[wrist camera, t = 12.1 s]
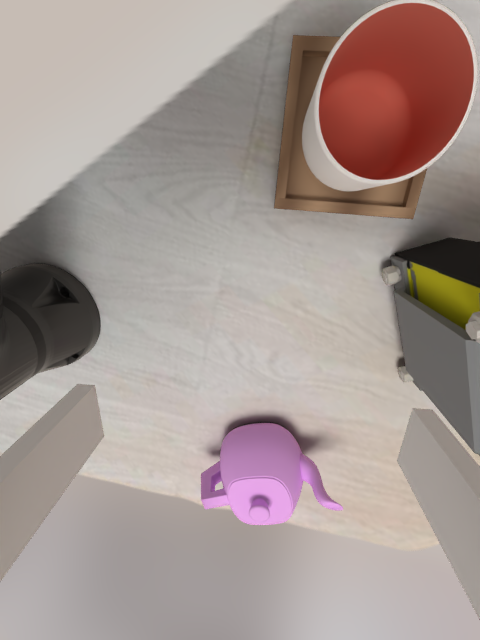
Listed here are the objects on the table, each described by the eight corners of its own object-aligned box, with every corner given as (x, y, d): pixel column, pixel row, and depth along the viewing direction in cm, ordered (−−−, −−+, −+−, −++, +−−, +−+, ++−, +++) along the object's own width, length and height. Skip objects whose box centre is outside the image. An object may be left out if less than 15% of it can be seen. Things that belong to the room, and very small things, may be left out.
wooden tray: (274, 208, 34) (274, 207, 30) (290, 60, 29) (293, 35, 25) (395, 217, 33) (413, 218, 29) (434, 66, 28) (462, 41, 24)
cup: (376, 205, 30) (422, 204, 21) (285, 173, 30) (291, 157, 20) (429, 93, 26) (516, 29, 17) (326, 55, 26) (356, -31, 17)
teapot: (332, 474, 48) (348, 547, 38) (217, 482, 51) (204, 550, 41) (323, 409, 44) (338, 471, 33) (198, 422, 47) (177, 482, 37)
